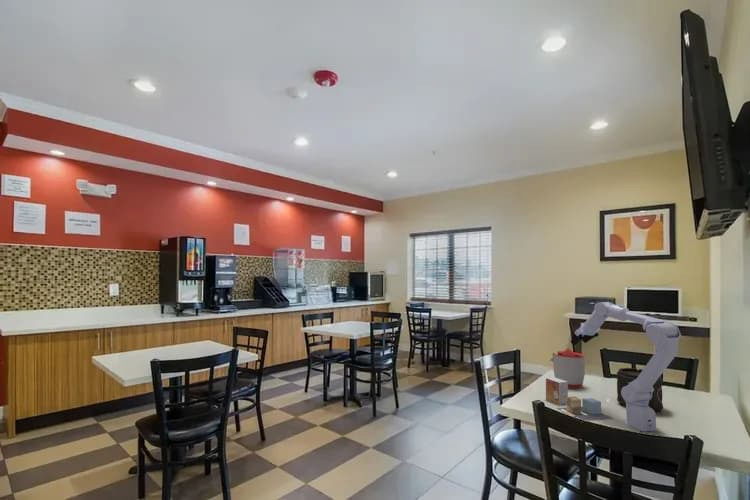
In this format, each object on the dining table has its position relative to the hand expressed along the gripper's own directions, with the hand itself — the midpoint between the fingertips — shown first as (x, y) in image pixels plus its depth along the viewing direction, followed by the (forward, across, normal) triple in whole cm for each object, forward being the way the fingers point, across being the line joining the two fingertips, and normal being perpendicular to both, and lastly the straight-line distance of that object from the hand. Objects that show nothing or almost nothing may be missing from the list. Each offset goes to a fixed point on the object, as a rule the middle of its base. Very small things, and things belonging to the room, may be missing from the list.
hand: (578, 342), depth 180 cm
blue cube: (+13, +10, +26) cm, 31 cm away
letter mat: (+13, +14, +26) cm, 32 cm away
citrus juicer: (+37, -17, +2) cm, 41 cm away
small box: (+24, +12, +14) cm, 30 cm away
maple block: (+14, +17, +23) cm, 32 cm away
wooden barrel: (+14, -18, +30) cm, 38 cm away
